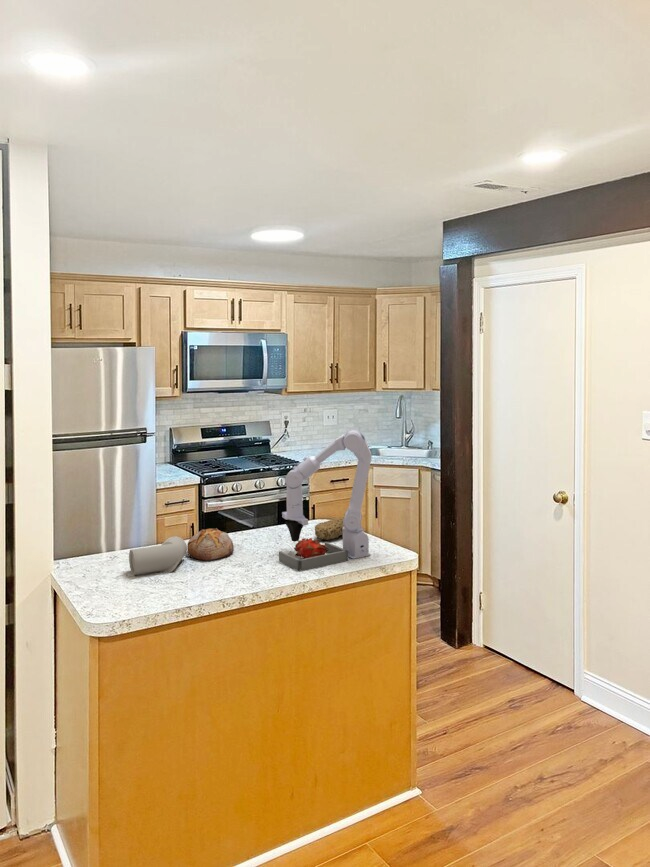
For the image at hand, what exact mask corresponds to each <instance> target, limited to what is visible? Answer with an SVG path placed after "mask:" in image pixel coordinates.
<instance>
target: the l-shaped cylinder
mask: <svg viewBox="0 0 650 867" xmlns="http://www.w3.org/2000/svg"><path fill="white" fill-rule="evenodd" d="M187 546H188V545H187V543H186V541H185V540H184V539H183V538H182V537H180V536H176V535H175V536H174V535H173V536H170V537H168V538H166V540H165V541H163V543H162V544H160V545H154V546H145V547H140V548H133V549H130V550H129V553H128V561H129V570H130V573H131V574H132V576H138V575H145V574H151V573H157V572H165V573H171V572H173V571H175V569H176V568H177V566H178V565H179V564H180V562H182V560H183V559H184V557H185V555H186V553H188V551H187Z"/></svg>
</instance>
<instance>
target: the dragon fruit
mask: <svg viewBox="0 0 650 867" xmlns="http://www.w3.org/2000/svg"><path fill="white" fill-rule="evenodd" d="M327 549H328V548H327V547H326V546H325V544H322V543H320V541H319V540H317V539H316V538H314V539H313V538H311V537H310V538H309V537H308V538H302V539H301V540H300V539H299V541H297V543H295V547H294V551H295V552H296V553H295V556H296V558H302V559H305V558H310V557H315V556H320V555H325V554H327V553H326V552H327V551H329V550H327Z"/></svg>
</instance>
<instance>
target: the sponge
mask: <svg viewBox="0 0 650 867" xmlns="http://www.w3.org/2000/svg"><path fill="white" fill-rule="evenodd" d="M343 519H344V516H342V517H337V518H334V519H333V518H332V519H329V520H327V521H323V522H319V523H317V524H316V525H315V526H314V535H315V536H316V537H317V539H321V540H328V541H329V540H334V539H337V538H338V537H340V536H343V527H344V525H343Z"/></svg>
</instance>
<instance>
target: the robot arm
mask: <svg viewBox="0 0 650 867" xmlns="http://www.w3.org/2000/svg"><path fill="white" fill-rule="evenodd" d="M346 449H347V450H349V451H350V452H352V453H353V455H354V456H355V457H356V459H357V465H356V469H355V475H354V479H353V484H352V490H351V494H350V495H351V496H350V499H349V504H348V509H347V510H345V512H344V516H343V517H344V519H343V525H344V527H343V535H342V548H343V549H345V550H348V558H350V559H354V560H355V559H358V558H364V557H366V556H367V557H368V556H371V555H372V554H371V553H370V552H369V551H370V550H369V546H370V545H369V542H370V541H369V536H368V535H367V533H365V531H364V527H363V526H362V519H363V516H362V515H363V514H362V507H363V501H364V496H365V491H366V487H367V481H368V477H369V471H370V468H371V467H370V466H371V462H372V458H373V456H372V454H373V453H372V452H371V449H370V447H369V445H368V443H367V439H366V437H365V435H364V434H362V432H361V431H360V430H358V429H355V428H352V429H349V430H347V432H346V433H343V434H341V435H340V436H338V437H337V438H335V439H334V440H332V441H331V442H330V443H329V444H328V445H327V446H325V447H324V448H323V449H322V450H321V451H320V452H318V453H317V454H316V455H315V456H312V455H310V456H304V458H303V459H302V460H303V461H301V462H300V463H299V464H297V465H294V466H293V467H292V469H291V470H290V471H289V472H287V474H286V475H285V478H284V479H285V480H284V481H285V484H286V492H285V493H286V511H282V512H281V515H282V516H281V517H282V518H283V519H284V520H288V521H285V523H284V524H285V525H286V527H287V529H288V532H289V534H290V539H291V541H292V542H293V543H294V542H299V541H300V537H301V533H302V530H303V528H304V526H308V525H309V519H308V518H306V517H305V515H304V509H303V508H304V506H303V505H304V504H303V503H304V502H303V497H304V496H303V485H302V483H303V481H304V480H308V478H310V477H311V476H312V475H314V474H315V473H316V472H317V471H319V470H320V468H321V466H320V465H321V464H322V462H324V461H325V460H327V459H328V458H330V457H331V456H332V455H333V454H335V453H336V452H337V451H338V452H339V451H345V450H346Z"/></svg>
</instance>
